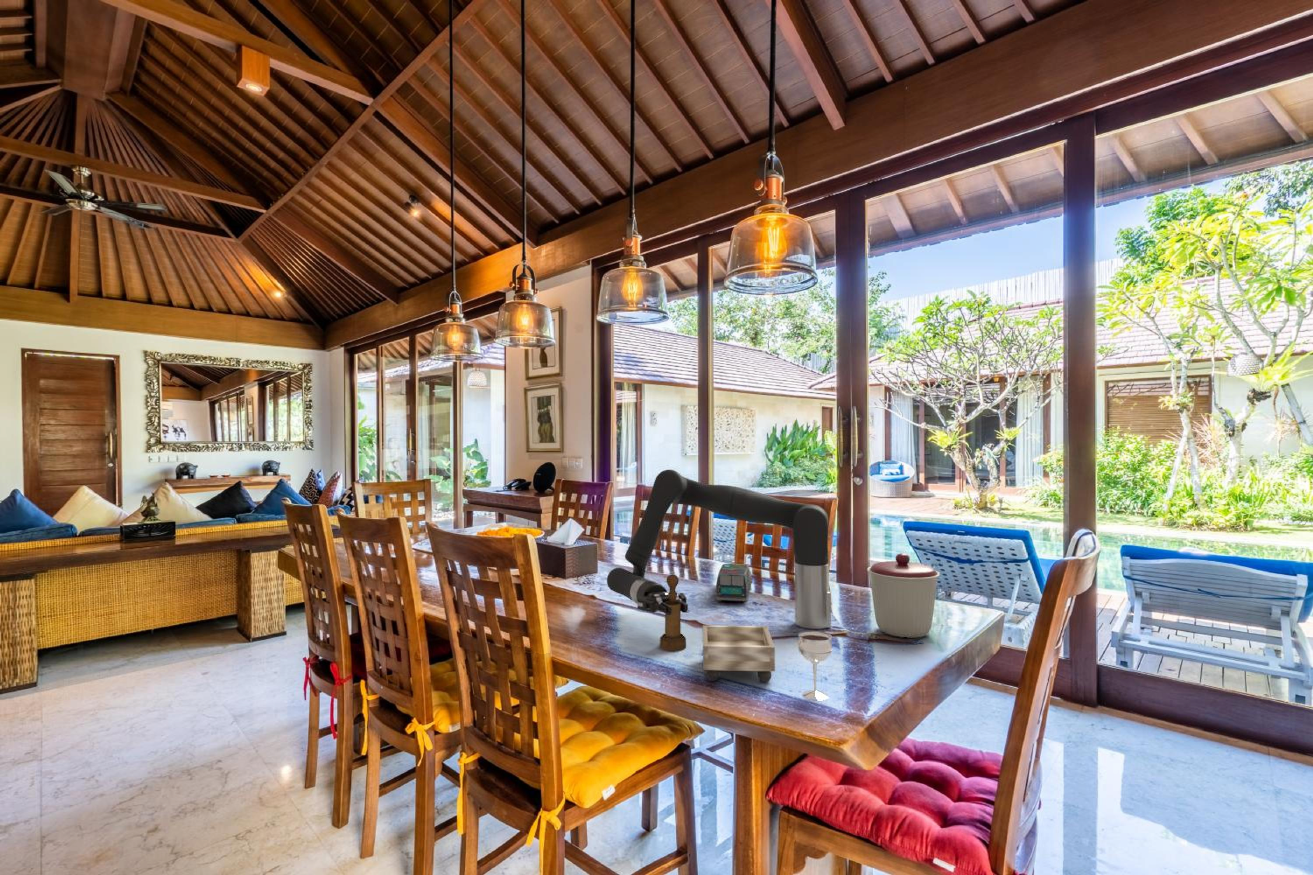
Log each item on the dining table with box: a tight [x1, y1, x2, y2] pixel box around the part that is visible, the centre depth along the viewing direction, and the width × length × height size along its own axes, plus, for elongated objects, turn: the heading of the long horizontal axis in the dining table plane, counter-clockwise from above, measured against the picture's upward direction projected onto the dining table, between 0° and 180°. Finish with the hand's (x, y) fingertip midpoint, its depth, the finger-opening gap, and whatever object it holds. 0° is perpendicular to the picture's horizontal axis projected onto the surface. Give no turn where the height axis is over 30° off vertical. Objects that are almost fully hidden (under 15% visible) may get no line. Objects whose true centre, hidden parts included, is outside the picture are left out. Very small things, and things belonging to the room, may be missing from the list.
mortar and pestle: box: [659, 574, 687, 652], centre depth 155 cm, size 7×6×18 cm
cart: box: [702, 625, 776, 683], centre depth 138 cm, size 15×15×8 cm
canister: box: [866, 552, 941, 639], centre depth 165 cm, size 18×18×21 cm
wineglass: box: [797, 630, 833, 701], centre depth 125 cm, size 7×7×12 cm
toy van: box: [715, 563, 753, 603], centre depth 207 cm, size 11×25×10 cm, turn 168°
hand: (677, 609), depth 152 cm, fingers closed on mortar and pestle, 4 cm apart
